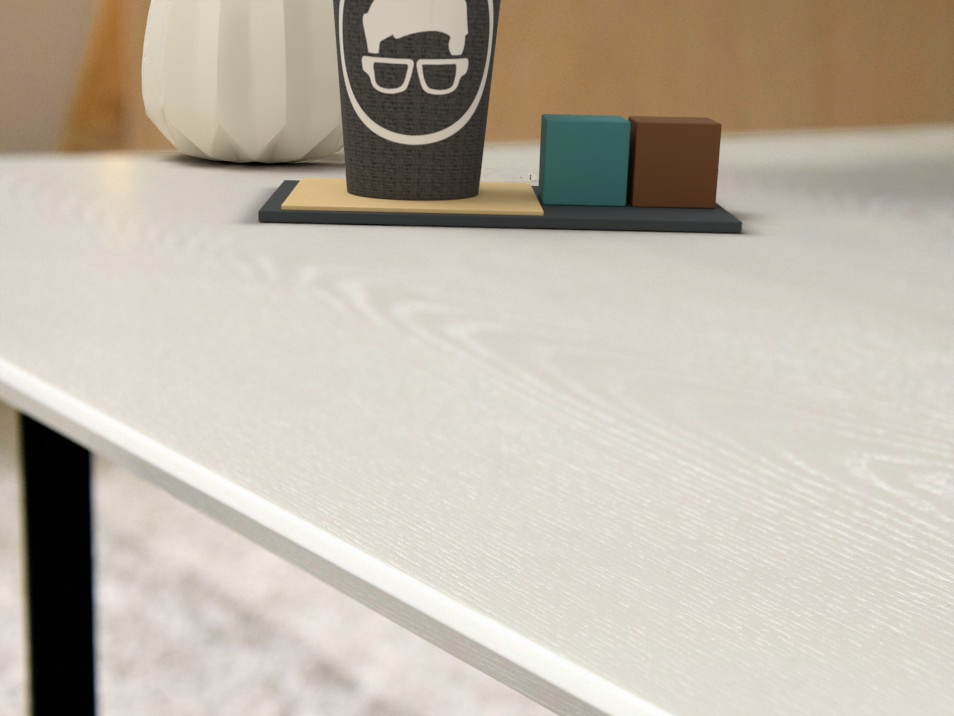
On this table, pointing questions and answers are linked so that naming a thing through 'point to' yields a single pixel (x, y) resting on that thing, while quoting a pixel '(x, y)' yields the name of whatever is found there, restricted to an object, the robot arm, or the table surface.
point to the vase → (244, 78)
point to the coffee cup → (415, 95)
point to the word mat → (558, 184)
